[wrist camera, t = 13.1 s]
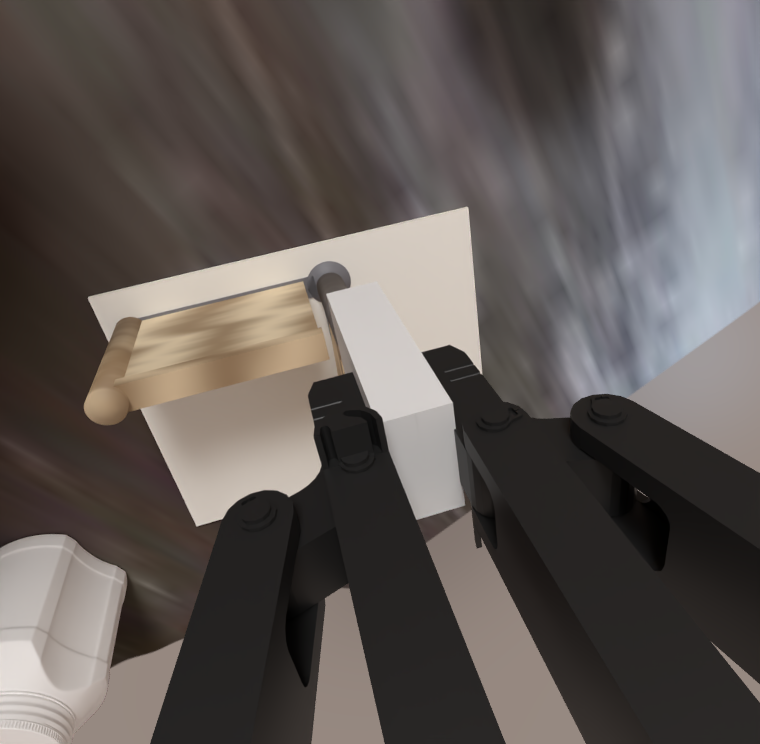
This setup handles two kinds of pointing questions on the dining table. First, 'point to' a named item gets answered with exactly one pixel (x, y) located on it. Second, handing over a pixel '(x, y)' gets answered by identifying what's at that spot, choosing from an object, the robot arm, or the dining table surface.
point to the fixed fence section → (204, 350)
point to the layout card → (291, 388)
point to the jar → (54, 637)
